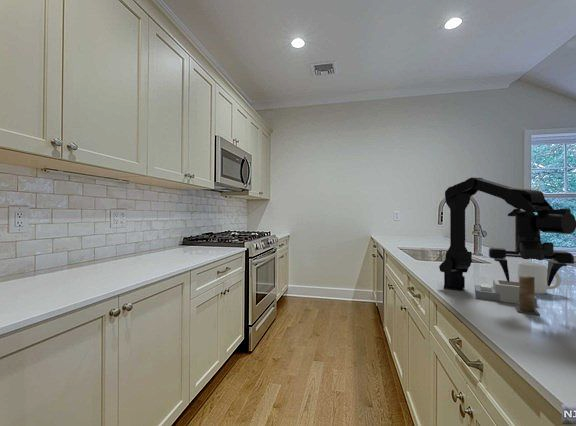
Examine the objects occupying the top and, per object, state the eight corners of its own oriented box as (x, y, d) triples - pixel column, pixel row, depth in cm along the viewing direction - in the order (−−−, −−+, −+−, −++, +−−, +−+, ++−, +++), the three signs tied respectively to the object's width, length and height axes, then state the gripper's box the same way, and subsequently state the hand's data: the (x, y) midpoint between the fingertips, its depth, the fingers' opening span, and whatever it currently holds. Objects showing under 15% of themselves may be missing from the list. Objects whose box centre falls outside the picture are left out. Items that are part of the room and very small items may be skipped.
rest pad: (517, 312, 82) (517, 310, 82) (515, 307, 87) (515, 306, 87) (540, 315, 80) (540, 314, 80) (536, 310, 84) (536, 309, 84)
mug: (560, 292, 102) (560, 264, 102) (561, 297, 96) (561, 268, 96) (518, 286, 110) (518, 261, 110) (517, 291, 104) (517, 264, 104)
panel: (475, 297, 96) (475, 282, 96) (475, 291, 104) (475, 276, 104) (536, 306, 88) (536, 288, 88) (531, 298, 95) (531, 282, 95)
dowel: (520, 310, 83) (520, 277, 83) (518, 307, 86) (518, 274, 86) (535, 312, 81) (535, 278, 81) (533, 309, 84) (533, 276, 84)
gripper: (491, 232, 81) (491, 285, 81) (581, 234, 71) (581, 295, 71) (488, 230, 91) (488, 277, 91) (567, 232, 81) (567, 285, 81)
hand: (527, 283), depth 83 cm, fingers open, 9 cm apart
